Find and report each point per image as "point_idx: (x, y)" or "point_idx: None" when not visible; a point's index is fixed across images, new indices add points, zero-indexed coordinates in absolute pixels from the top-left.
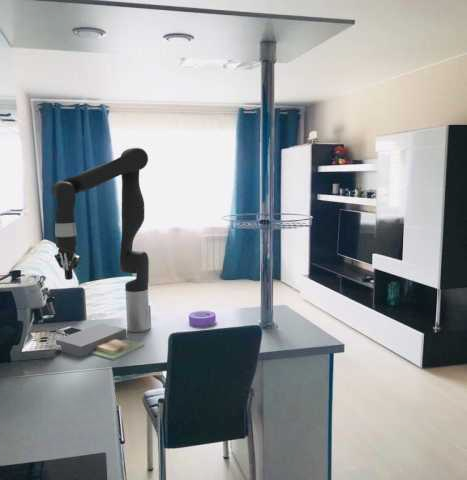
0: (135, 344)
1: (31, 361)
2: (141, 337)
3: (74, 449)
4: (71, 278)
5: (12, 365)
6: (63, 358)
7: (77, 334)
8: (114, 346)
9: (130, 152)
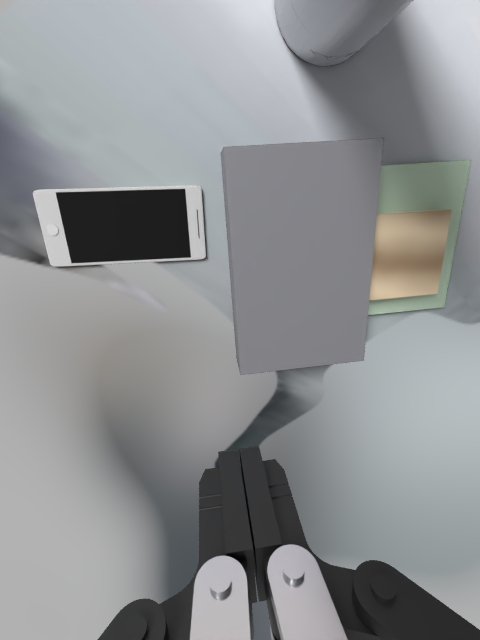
0: (442, 182)
1: (252, 432)
2: (406, 92)
3: None
4: (259, 455)
5: None
6: (308, 377)
7: (258, 303)
8: (418, 266)
9: None
